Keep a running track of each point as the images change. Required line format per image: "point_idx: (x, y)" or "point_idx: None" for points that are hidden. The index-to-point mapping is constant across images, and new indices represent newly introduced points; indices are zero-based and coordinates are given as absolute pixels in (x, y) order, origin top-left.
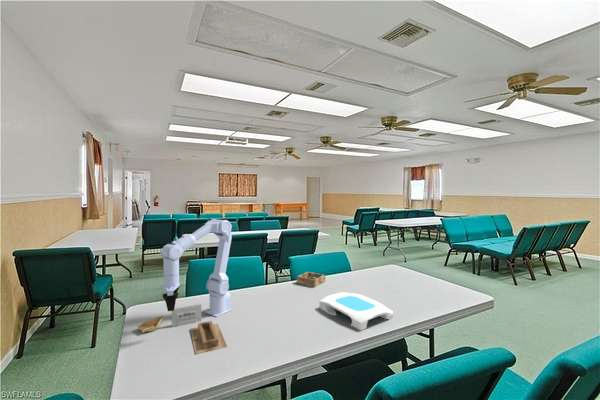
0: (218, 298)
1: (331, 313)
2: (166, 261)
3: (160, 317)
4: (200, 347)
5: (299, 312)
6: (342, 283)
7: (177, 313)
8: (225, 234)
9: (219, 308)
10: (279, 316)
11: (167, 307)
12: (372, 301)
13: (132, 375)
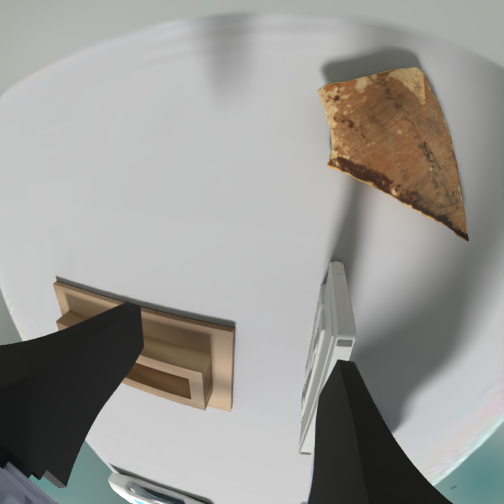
0: (309, 492)
1: (176, 497)
2: None
3: (455, 222)
4: (79, 308)
5: (214, 493)
6: None
7: (325, 339)
8: None
9: (313, 455)
10: (211, 479)
11: (93, 319)
12: None
13: (25, 106)
